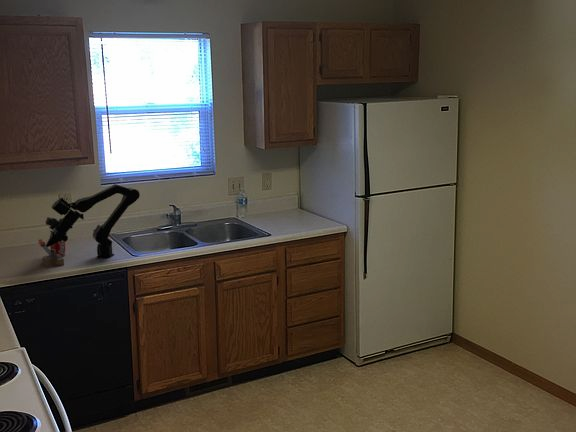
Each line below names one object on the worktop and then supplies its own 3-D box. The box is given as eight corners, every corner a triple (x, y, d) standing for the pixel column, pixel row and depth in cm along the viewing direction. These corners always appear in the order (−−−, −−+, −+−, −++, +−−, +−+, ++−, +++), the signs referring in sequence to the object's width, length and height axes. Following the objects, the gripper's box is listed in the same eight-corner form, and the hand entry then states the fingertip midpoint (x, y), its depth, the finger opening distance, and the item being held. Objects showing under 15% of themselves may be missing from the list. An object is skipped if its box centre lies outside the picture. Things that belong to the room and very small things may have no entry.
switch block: (60, 259, 316) (59, 248, 314) (64, 264, 307) (63, 252, 306) (43, 262, 312) (42, 250, 311) (46, 267, 303) (45, 255, 302)
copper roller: (53, 253, 311) (41, 238, 307) (55, 256, 306) (43, 240, 302) (49, 256, 311) (36, 241, 307) (51, 259, 306) (38, 243, 302)
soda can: (67, 253, 327) (65, 230, 324) (63, 257, 320) (61, 234, 317) (53, 254, 327) (51, 231, 324) (49, 257, 320) (47, 234, 317)
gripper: (51, 207, 313) (30, 232, 311) (58, 214, 297) (35, 240, 295) (70, 221, 319) (48, 245, 316) (77, 228, 303) (55, 254, 300)
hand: (46, 246), depth 306 cm, fingers closed, pressing on copper roller
